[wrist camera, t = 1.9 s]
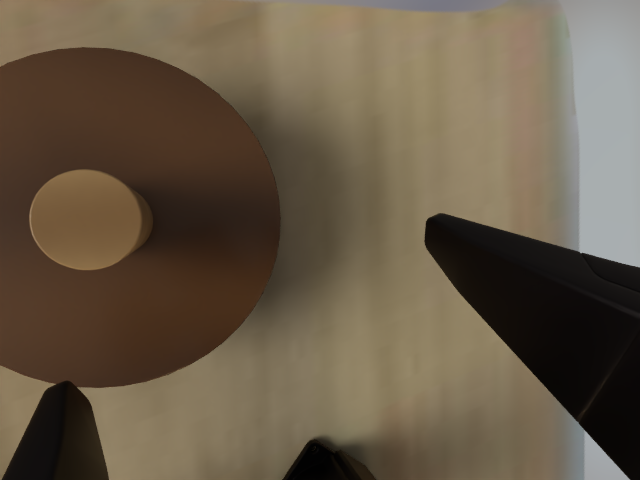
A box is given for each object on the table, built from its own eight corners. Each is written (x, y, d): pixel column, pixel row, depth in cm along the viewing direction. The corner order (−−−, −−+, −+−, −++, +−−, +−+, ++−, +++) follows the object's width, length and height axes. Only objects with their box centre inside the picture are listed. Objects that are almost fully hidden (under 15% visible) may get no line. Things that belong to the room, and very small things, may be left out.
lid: (295, 336, 22) (347, 387, 15) (-39, 419, 17) (-173, 543, 11) (251, 52, 21) (287, -29, 14) (-122, 61, 16) (-334, -53, 9)
